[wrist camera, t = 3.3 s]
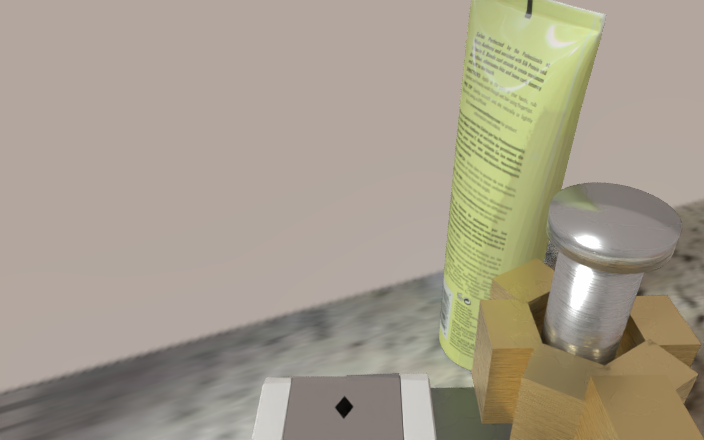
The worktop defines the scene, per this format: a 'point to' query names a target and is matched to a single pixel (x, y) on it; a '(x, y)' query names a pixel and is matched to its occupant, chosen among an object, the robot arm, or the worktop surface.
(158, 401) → the worktop surface
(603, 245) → the post
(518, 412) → the tan nut with handle
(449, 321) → the tube
